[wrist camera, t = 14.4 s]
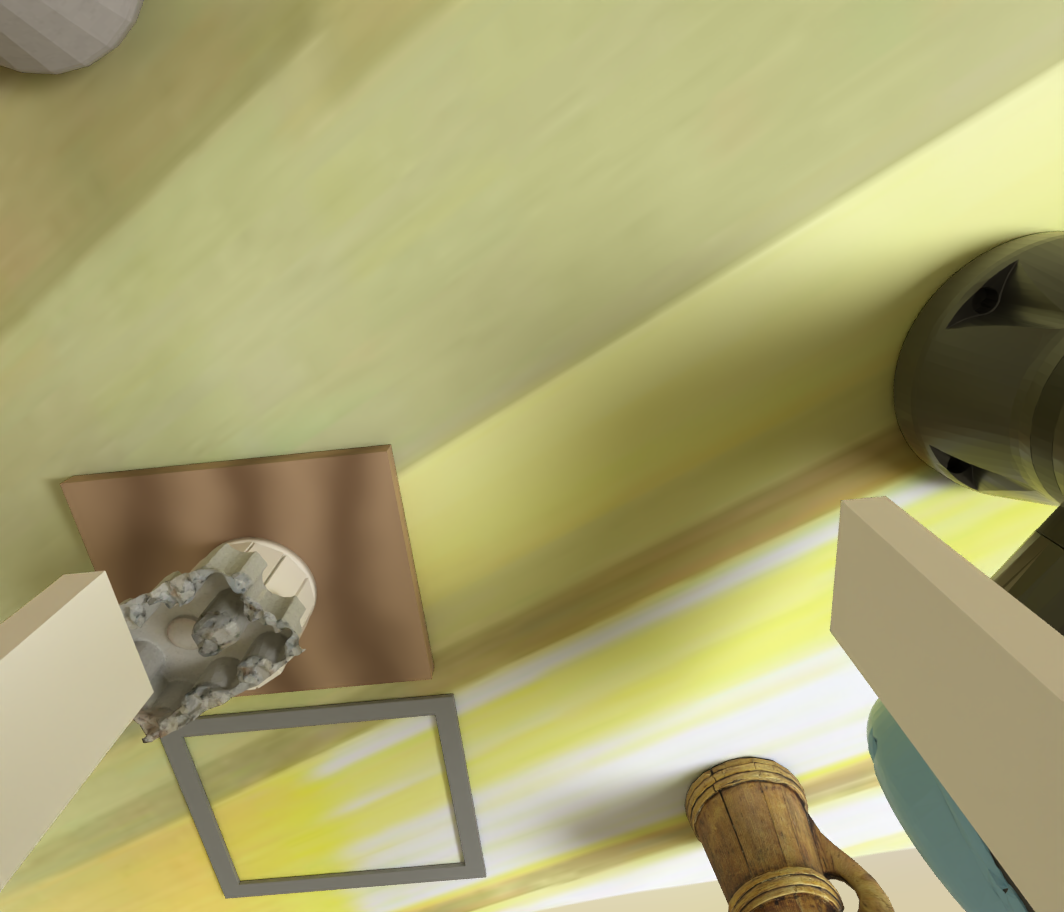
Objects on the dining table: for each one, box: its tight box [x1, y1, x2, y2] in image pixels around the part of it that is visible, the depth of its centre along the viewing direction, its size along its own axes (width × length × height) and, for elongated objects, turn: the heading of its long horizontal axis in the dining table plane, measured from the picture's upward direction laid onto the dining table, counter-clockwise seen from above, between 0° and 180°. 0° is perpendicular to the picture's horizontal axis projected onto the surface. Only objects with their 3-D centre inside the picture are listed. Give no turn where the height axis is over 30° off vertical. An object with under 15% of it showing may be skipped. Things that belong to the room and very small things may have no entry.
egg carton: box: [119, 543, 306, 743], centre depth 34 cm, size 11×8×4 cm
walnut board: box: [60, 445, 434, 697], centre depth 41 cm, size 20×17×1 cm
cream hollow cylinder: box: [190, 537, 317, 690], centre depth 38 cm, size 8×8×5 cm
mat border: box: [160, 694, 486, 898], centre depth 49 cm, size 22×19×1 cm
